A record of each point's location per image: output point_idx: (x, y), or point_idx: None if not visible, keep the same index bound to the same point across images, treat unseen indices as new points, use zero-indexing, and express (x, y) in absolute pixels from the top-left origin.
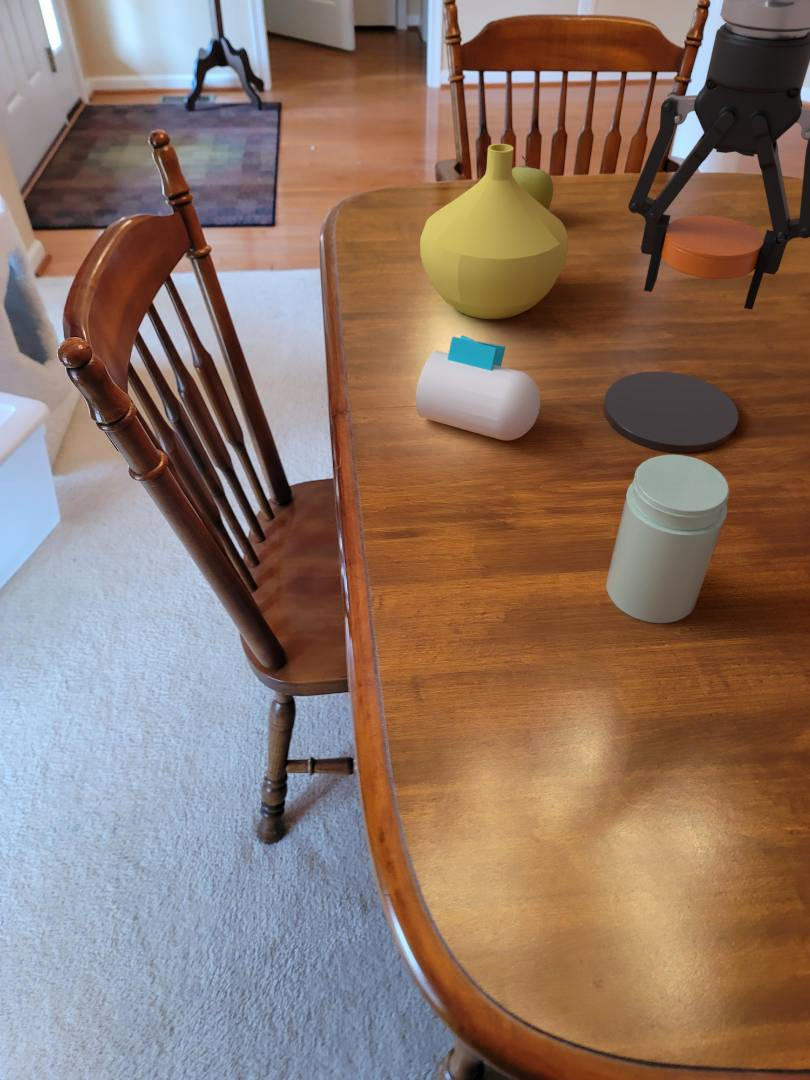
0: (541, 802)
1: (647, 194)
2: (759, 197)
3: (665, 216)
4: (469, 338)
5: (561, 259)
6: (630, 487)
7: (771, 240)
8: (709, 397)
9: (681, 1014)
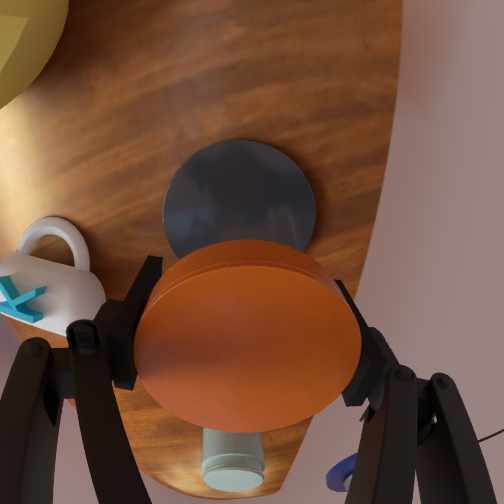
0: (200, 473)
1: (48, 373)
2: None
3: (117, 347)
4: (4, 290)
5: (45, 23)
6: (202, 464)
7: (362, 399)
8: (286, 189)
9: (249, 493)
